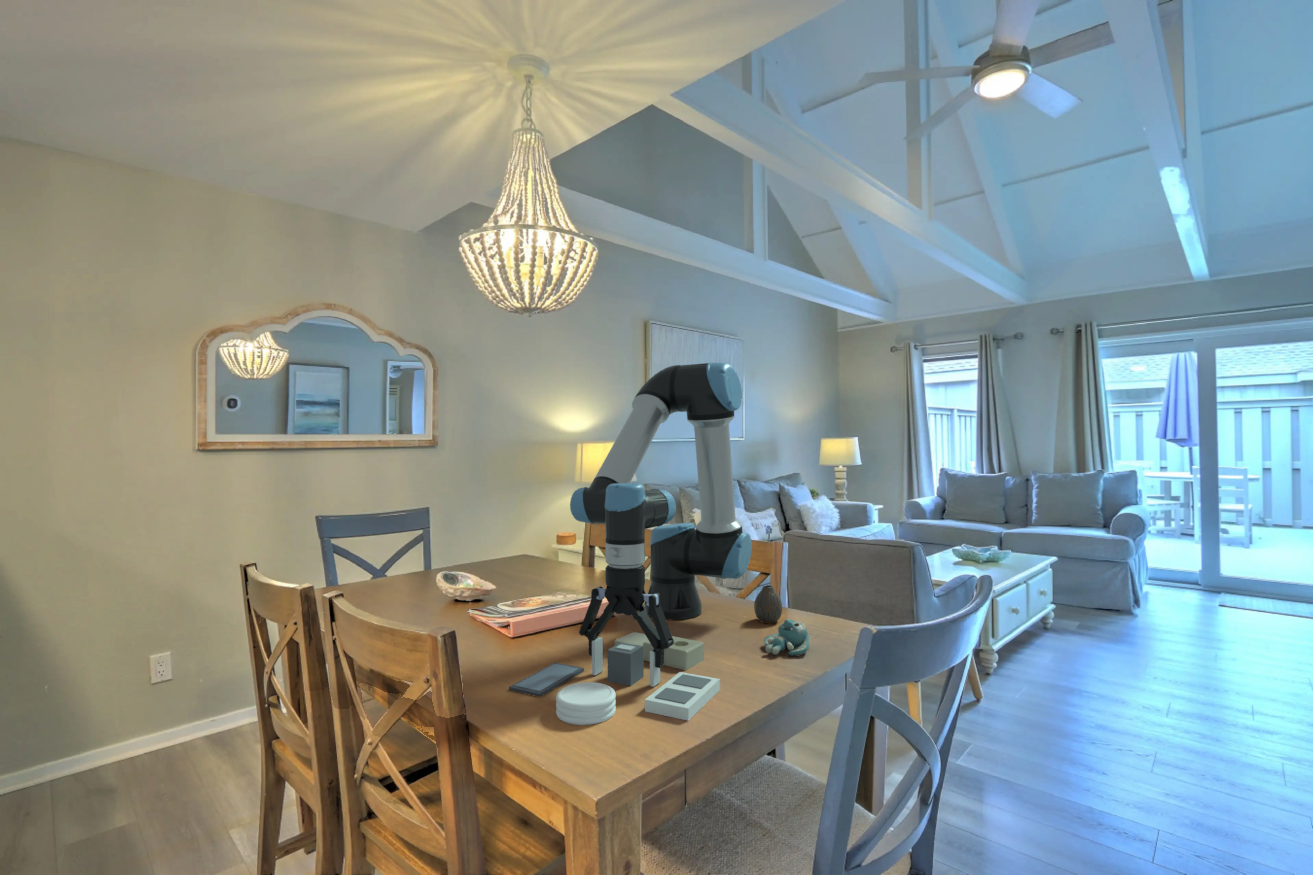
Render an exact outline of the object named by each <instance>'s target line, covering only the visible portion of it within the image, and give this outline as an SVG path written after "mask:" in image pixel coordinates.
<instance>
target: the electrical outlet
mask: <svg viewBox="0 0 1313 875" xmlns="http://www.w3.org/2000/svg"><path fill="white" fill-rule="evenodd" d="M672 638H673V640H674V644H673V645H672V646H670V647H669V648H667V649H664V665H663V666H667V667H670V668H675V669H679V670H684V671H688V670H691V669H692V668H693V667H695V666H696V665H698V664H700V663H702V662H704V661H705V642H702V641H700V640H694V639H689V638H683V637H680V636H674V635H672ZM619 643H627V644H634V645H640V646H643V662H649V663H650V650H652V649H653V647H652V645H651V643H650V642H649V640H648V638H647V637H646V635H645V633H642V632H636V631H633V632H631V633H629V634H626V635H624V636H622V637H620V638H618V639H615V640H614V646H616V645H617V644H619Z"/></svg>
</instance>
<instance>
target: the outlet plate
mask: <svg viewBox="0 0 1313 875" xmlns="http://www.w3.org/2000/svg"><path fill="white" fill-rule="evenodd" d="M720 691H721V678H716V677H712V676H711V677H710V676H705V675H698V674H693V673H689V672H684V671H683V672H682V671H679V672H678V673H677V674H675V675H674V676H673V677H672V678H670V679H669V680H668V681H666V682H665V683H664V684H663V685H660V687H659V688H657V689H656V690H655V691H654V692H652V693H651V694H650V695H649V696H648V697H646V698H645V699H644V712H645V713H646V712H647V713H650V714H655V715H661V716H666V717H669V718H673V719H678V720H683V721H687V722H688V721H690V720H691V719H692V718H693V717H694V716H695V715H697V713H698V712H699V711H700V710H702V708H703V707H704V706H705V705H706V704H707V703H708V702H710V700H711V699H713V697H715V696H716V695H717V693H719V692H720Z"/></svg>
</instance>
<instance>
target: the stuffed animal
mask: <svg viewBox="0 0 1313 875" xmlns="http://www.w3.org/2000/svg"><path fill="white" fill-rule="evenodd" d="M777 630H778V632H777V633H774V634H771V635H768V636H767V635H766V636H765V637H764V638H763V643H764V647H765V652H766V653H768V654H770V653H772V654H773V655H775V656H776V655H779V653H780V652H782V651H784V650H786V648H787V649H788V650H789V651H788V655H789V656H795V657H798V655H799V656H802V654H803V655H805V654H806V653H807V651H809V648H810V642H809V639H810V635H809V632H808V630H807V626H806V625H805V623H803V622H801V621H796V620H792V619H789V618H787V619H784V621H783V622H782V623H781V624H779V626H778V629H777Z"/></svg>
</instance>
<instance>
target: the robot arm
mask: <svg viewBox="0 0 1313 875" xmlns="http://www.w3.org/2000/svg"><path fill="white" fill-rule="evenodd" d="M742 398H743V390H742V385H741V382H740V378H739V375H738V373H737V371H736V370H735V368H734V366H732V365H731V364H729V363H726V362H705V363H693V364H682V365H681V364H676V365H670V366H667V367H665V368H663V369H661V370H660V371H658V372H657V373H655V374H654V375H653V376H652V377H650V378H649V379H647V381H646V382H645V383H644V384H643V385H642V386H641V387H640V389H639V390H638V392H637V393H636V395H635V396H634V399H633V401H632V402H631V407H632V411H631V412H630V414H629V415H628V417H627V420H625V423H624V424H623V426H622V428H621V430H620V432H619V434H618V436H617V437H616V438H615V441H614V443H613V444H612V447H611V448H610V450H609V452H608V453H607V455H606V457H605V459H604V460H603V462H602V464H601V466H600V468H599V470H598V471H597V472H596V475H595V477H594V479H593V480H592V482H591V483H590V485H589V487H588V486H584V487H579V488H577V489H576V490H574V491H573V493H572V494H571V497H570V502H569V509H570V513H571V515H572V516H573V518H574V519H575V520H576V521H578V522H581V523H587V524H592V525H595V524H601V525H605V563H606V564H607V565H606V567H605V585H606V588H603V586H601V585H599V586H597V587H595V588H593V589H591V593H590V594H591V595H590V601H589V605H588V607H587V610H586V613H585V615H584V619H583V621H582V623H581V626H580V629H579V635H581V636H584V637H586V638H587V640H588V655H589V657H591V675H592V676H597V675H598V674H600V673H601V672H603V671H604V670H603V669H604V668H603V664H604V663H603V659H604V658H603V645H604V644H603V643H604V642H603V639H604V638H603V637H599V636H601V633H602V632H603V630H604V629H605V627H606V626H607V625H608V623H609V622H610V620H611V618H612V617H613V616H614V615H616V614H617V615H620V614H622V615H625V616H630V617H631V616H632V618H633V619H634V620H635V621H636V622H637V623H638V625H639V627H640V628H641V630H642V632H643V634H645V635H646V637H647V638H648V640H649V642H650V643H651V645H652V647H653V649H652V650H650V662H649V687H653V688H654V687H655V686H656V685H658V684H659V683H661V668H662V667H664V666H665V665H664V649H667V648H669V647H670V646H672V645H673V644H674V640H673V638H672V636H673V635H672V633H671V629H670V626H669V624H668V622H667V620H673V621H674V620H687V619H691V618H695V617H698V616H700V615H702V612H703V610H702V609H703V607H702V606H703V605H702V601H701V598H700V594H699V591H698V589H697V585H696V582H695V581H696V580H695V579H696V577H695V576H699V577H700V576H701V577H708V578H709V577H710V578H711V577H712V578H718V579H722V580H726V579H731V580H732V579H733V580H737V579H740V578H741V577H743V576H744V575H745V573H746V572H747V570H748V568H749V564H750V561H751V557H752V556H751V555H752V550H753V549H752V548H753V544H752V543H753V542H752V541H753V540H752V538H751V534H749V533H748V532H746V531H743V524H742V522H741V521H740V520H739V519H738V518H737V517H736V509H735V495H734V493H735V491H734V479H733V477H734V476H733V464H732V463H733V462H732V453H731V450H732V449H731V438H730V423H731V422H732V420H734V418H735V411H737V410H739V409H740V407H741V405H742ZM677 412H681V413H683V412H686V419H687V421H688V422H689V423H690V424H691V425H692V426H693V430H694V441H695V453H696V455H695V457H696V468H697V479H698V480H697V481H698V482H697V483H698V495H699V506H700V518H701V519H700V520H699V522H698V523H697V524H696V525H695V524H694V523H693V522H679V523H670V524H668V523H669V522H671V520H673V519H674V517H675V515H676V512H677V505H676V500H675V497H674V496H673V494H671V493H670V492H669V491H668V490H665V489H658V488H657V489H656V488H653V489H646V490H645V487H644V485H643V484H642V483H638V482H637V483H635V482H632V480H633V478H634V476H635V474H636V472H637V471H638V468H639V467H640V464H641V462H642V461H643V459H644V456H646V455H645V454H646V453H647V451H648V449H649V447H650V445H651V443H652V441H653V439H654V437H655V435H656V433H657V431H658V430H659V427H660V425H661V424H663V423H665V422H667V421H668V419H669V417H670V415H671V414H674V413H677ZM652 528H653V529H652ZM646 529H652V530H651V532H650V540H649V541H650V543H649V546H650V584H649V589H648V591H647V593H646V590H645V584H646V567H645V566H644V565H643V564H644V563H645V562H646V552H645V551H646V548H645V546H646V545H645V543H646V541H645V540H646V538H645V537H646V536H645V535H646ZM603 599H606V601H607V605H606V607H605V608H604V609H603V612H602V614H601V615H600V616H599V618H598V619H597V616H598V613H599V611H600V607H601V605H602V604H603V601H604V600H603ZM651 618H652V619H651ZM596 619H597V621H596ZM595 621H596V622H595Z"/></svg>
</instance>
